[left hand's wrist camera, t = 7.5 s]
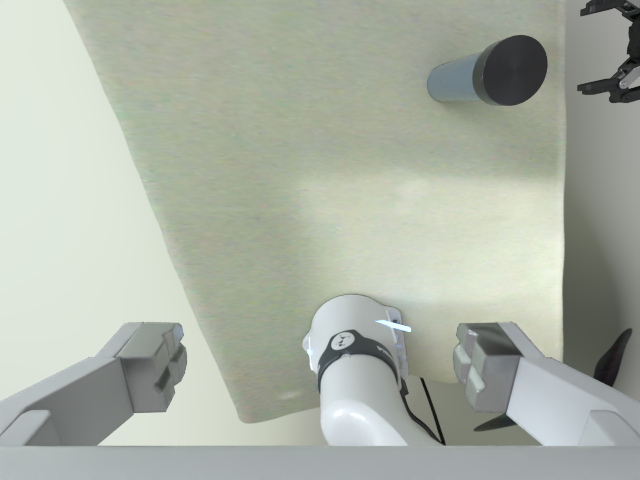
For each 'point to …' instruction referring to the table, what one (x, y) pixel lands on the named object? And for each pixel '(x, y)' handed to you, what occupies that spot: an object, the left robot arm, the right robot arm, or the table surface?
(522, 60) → the lid
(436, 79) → the blue bottle
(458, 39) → the table surface
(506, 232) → the table surface
